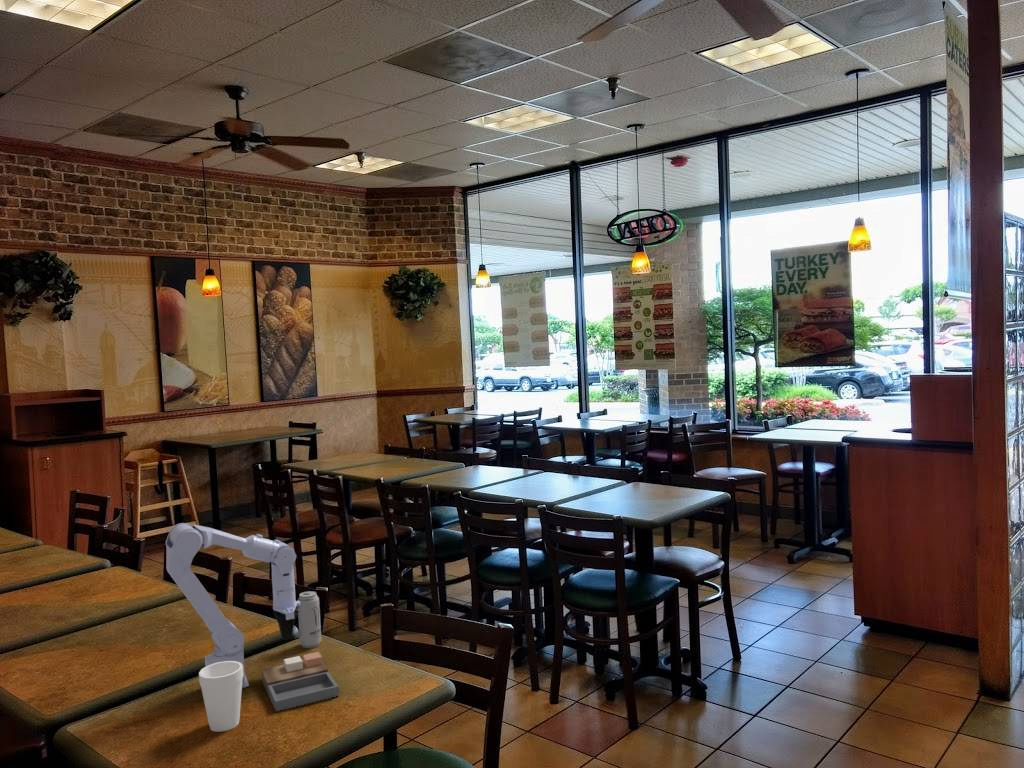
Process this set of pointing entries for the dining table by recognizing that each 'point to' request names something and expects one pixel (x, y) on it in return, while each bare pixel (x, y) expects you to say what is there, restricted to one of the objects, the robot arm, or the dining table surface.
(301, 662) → the tile
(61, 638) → the dining table surface
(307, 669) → the board
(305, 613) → the energy drink can
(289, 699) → the box
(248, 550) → the robot arm
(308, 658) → the tile
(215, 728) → the foam cup
